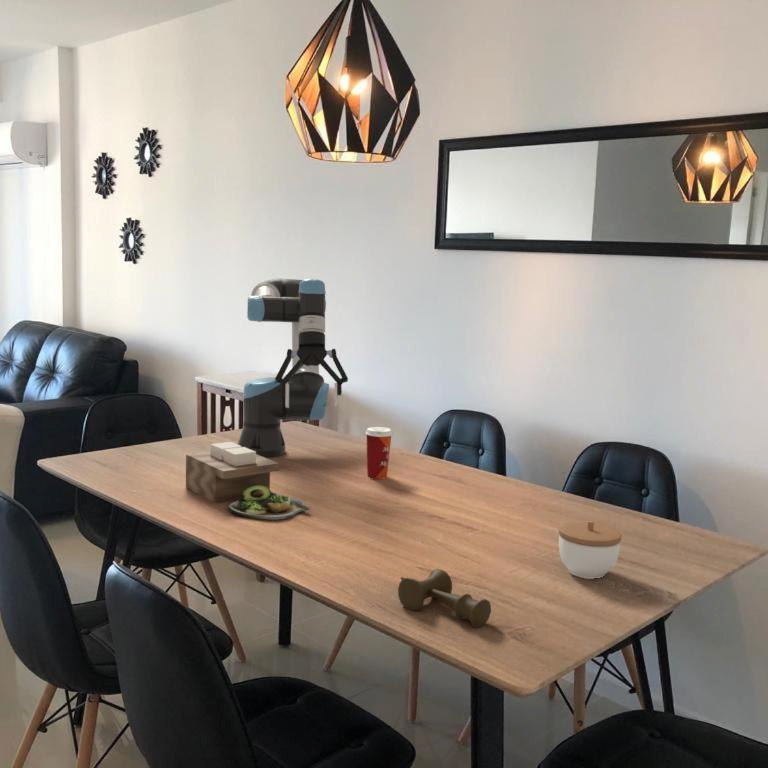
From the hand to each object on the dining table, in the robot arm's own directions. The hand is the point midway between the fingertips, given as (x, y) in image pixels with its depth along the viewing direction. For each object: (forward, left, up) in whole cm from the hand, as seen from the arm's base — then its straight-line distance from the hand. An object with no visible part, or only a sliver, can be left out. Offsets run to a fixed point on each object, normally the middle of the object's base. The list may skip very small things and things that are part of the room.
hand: (311, 407), depth 235 cm
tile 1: (-2, -26, -11) cm, 28 cm away
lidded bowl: (+90, +7, -21) cm, 93 cm away
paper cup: (+9, +17, -21) cm, 28 cm away
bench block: (+1, -26, -20) cm, 33 cm away
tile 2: (+5, -26, -11) cm, 28 cm away
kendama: (+86, -31, -21) cm, 93 cm away
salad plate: (+18, -26, -21) cm, 38 cm away
